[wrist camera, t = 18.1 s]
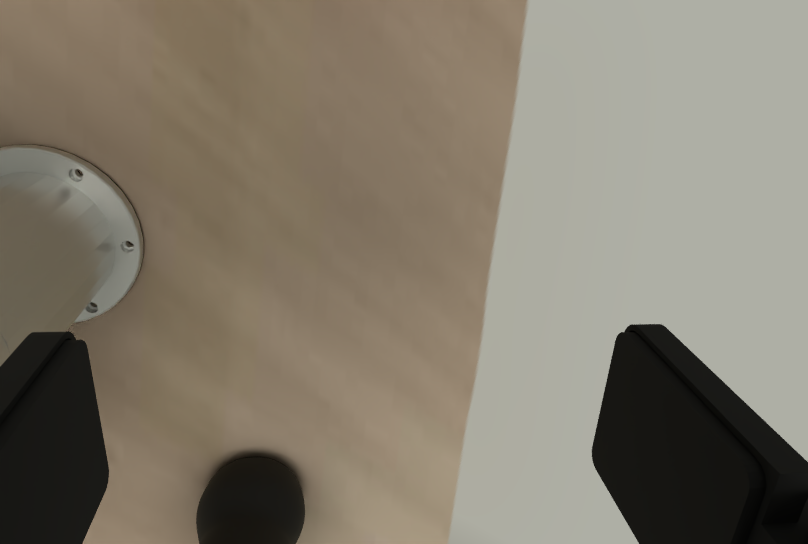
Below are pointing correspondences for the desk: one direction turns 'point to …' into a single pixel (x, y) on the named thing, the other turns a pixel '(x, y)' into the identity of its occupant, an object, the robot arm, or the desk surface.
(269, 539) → the cola bottle
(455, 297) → the desk surface
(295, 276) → the desk surface
